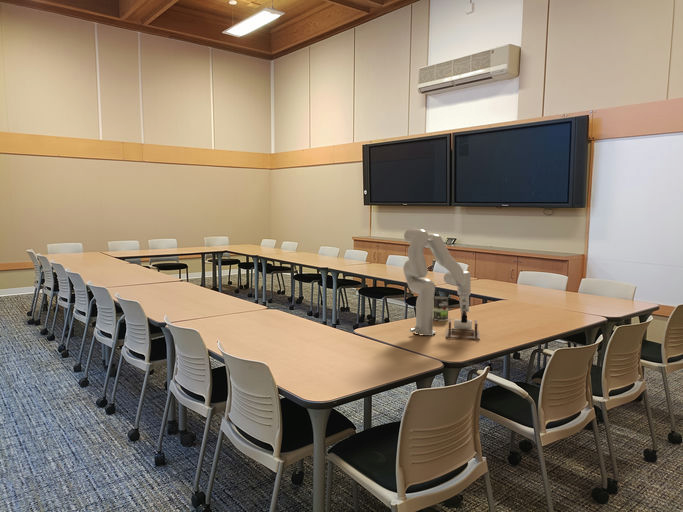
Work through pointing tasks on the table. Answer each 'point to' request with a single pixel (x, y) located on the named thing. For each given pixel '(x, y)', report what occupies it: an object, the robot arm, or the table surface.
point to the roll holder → (463, 333)
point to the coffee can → (440, 308)
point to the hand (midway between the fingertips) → (464, 320)
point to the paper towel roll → (462, 324)
